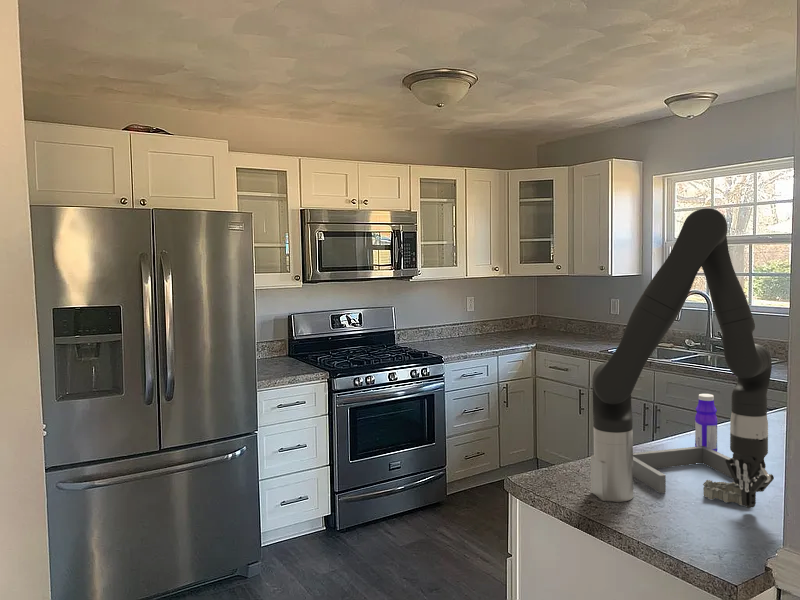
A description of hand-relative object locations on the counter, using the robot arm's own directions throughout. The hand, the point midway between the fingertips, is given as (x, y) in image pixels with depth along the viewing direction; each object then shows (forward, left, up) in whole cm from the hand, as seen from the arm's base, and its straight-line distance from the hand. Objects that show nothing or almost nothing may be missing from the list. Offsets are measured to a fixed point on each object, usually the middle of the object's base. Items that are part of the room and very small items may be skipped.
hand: (748, 506), depth 142 cm
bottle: (+18, +39, -2) cm, 43 cm away
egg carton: (+1, +9, -2) cm, 9 cm away
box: (0, +23, -2) cm, 23 cm away
